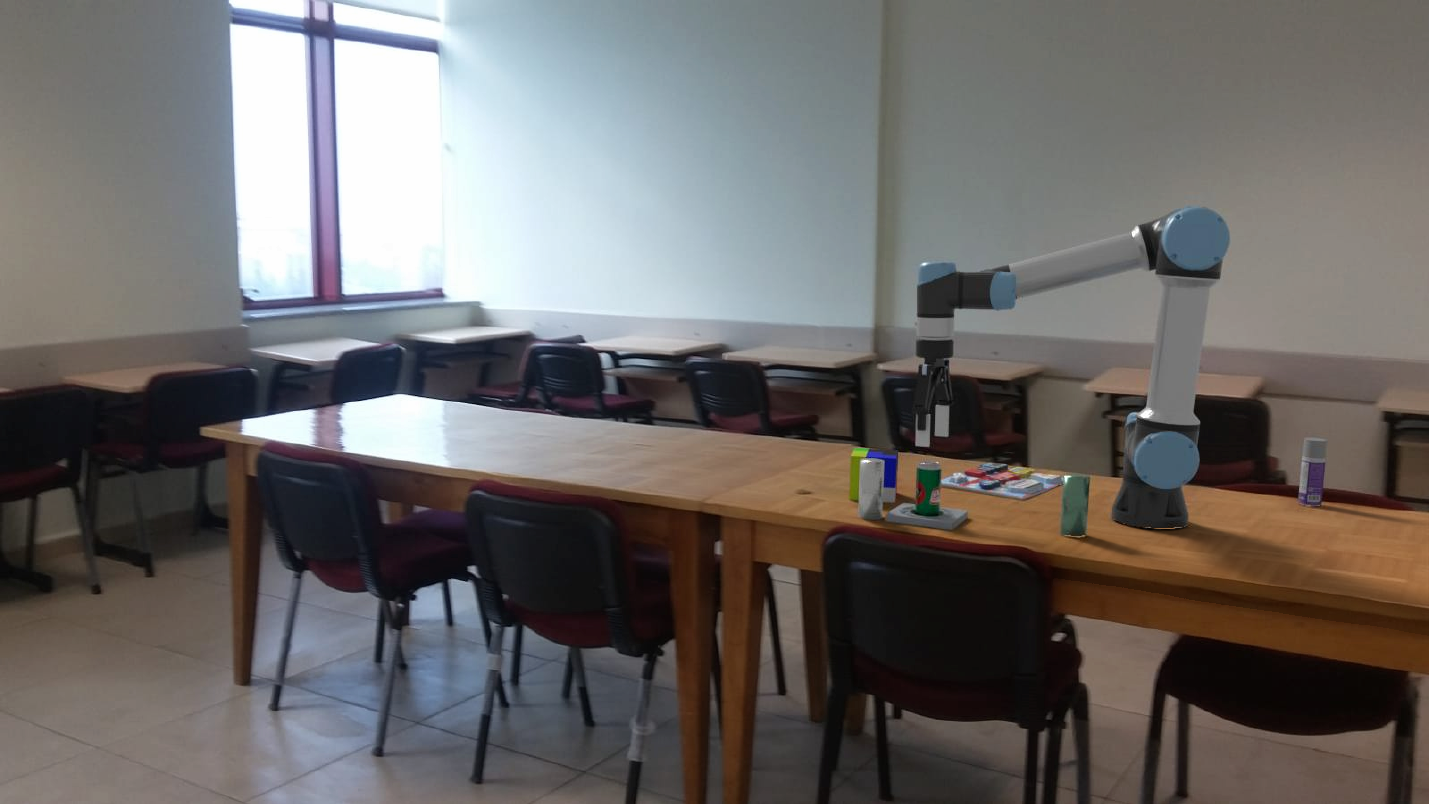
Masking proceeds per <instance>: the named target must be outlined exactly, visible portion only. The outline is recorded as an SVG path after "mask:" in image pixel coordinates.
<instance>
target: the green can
mask: <svg viewBox="0 0 1429 804" xmlns="http://www.w3.org/2000/svg"><path fill="white" fill-rule="evenodd" d="M1062 477H1063V485H1062V493H1061V510H1060V512H1061V513H1060V527H1059V534H1060V533H1061V534H1062V535H1071V536H1082V535H1086V536H1087V527H1088V526H1087V525H1088V514H1089V511H1088V510H1089V499H1090V498H1089V497H1090V484H1091V482H1090V481H1091V476H1090V475H1088V474H1084V473H1075V472H1073V473H1071V472H1069V473H1068V472H1067V473H1064V474H1063V475H1062ZM1062 535H1061V536H1062Z"/></svg>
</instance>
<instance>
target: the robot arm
mask: <svg viewBox="0 0 1429 804" xmlns="http://www.w3.org/2000/svg"><path fill="white" fill-rule="evenodd" d="M1230 240H1231V234H1230V229H1229V226H1228V223H1227V222H1226V221H1225V220H1224V218H1223V217H1222V216H1221V215H1220V214H1219V213H1218V212H1216V211H1215V210H1213V209H1211V208H1209V207H1205V206H1200V205H1195V206H1186V207H1183V208H1180V209H1175V210H1174V211H1171V212H1169V213H1168V214H1165V215H1164V216H1160V217H1158V218H1157V219H1154V220H1151V221H1148V222H1145V223H1142V224H1138V225H1135V227H1134V228H1133V229H1132V231H1130V232H1126V233H1123V234H1119V235H1115V236H1111V237H1108V238H1104V239H1099V240H1096V241H1092V242H1089V243H1085V244H1084V243H1083V244H1081V245H1078V246H1073V247H1070V248H1066V249H1062V250H1058V251H1055V252H1050V253H1047V254H1043V255H1040V256H1035V257H1032V258H1031V257H1030V258H1028V259H1025V260H1020V261H1016V262H1013V263H1009V264H1006V265H1002V266H997V267H994V268H991V269H984V270H980V271H967V272H966V271H965V272H964V271H960V270H959V271H958V270H957V267H956V264H955V262H952V261H925V262H922V263H920V265H919V266H918V269H917V271H918V272H917V283H916V320H915V321H914V323H913V324H914V326H915V327H916V336H917V337H919V338H917V339H916V340H915V356H916V358H920V359H924V361H923V363H924V364H923V363H921V364H918V369H917V371H918V373H917V380H916V387H915V392H914V399H913V404H912V408H911V414H912V415H915V447H924V448H926V447H927V448H930V444H931V442H930V440H931V439H930V438H931V414H930V413H929V412H930V409H931V404H932V400H933V396H934V394H935V399H936V403H937V404H936V405H935V414H934V415H935V417H934V421H935V422H934V423H935V424H934V436H935V437H945V438H948V437H949V431H950V427H949V424H950V406H954V400H953V393H952V392H953V391H952V382H951V381H952V380H951V375H950V374H951V373H950V358H953V356H954V344H955V343H954V342H955V341H954V340H953V339H952V338H953V337H954V336H955V310H987V311H988V310H990V311H991V310H994V311H998V312H999V311H1003V310H1004V311H1005V310H1012V309H1014V308H1015V306H1016V300H1018V299H1019V300H1020V299H1022V298H1023V299H1024V298H1027V297H1031V296H1034V295H1040V294H1042V293H1047V292H1051V291H1055V290H1059V289H1061V288H1066V287H1071V286H1074V285H1078V284H1083V283H1087V282H1091V281H1094V280H1098V279H1102V278H1107V277H1110V276H1115V275H1118V274H1122V273H1127V272H1131V271H1134V270H1138V269H1141V270H1143V271H1146V272H1150V271H1155V273H1154V277H1155V278H1156V279H1157V280H1158V281H1159V283H1160V284H1161V291H1160V298H1159V299H1160V300H1159V307H1158V315H1157V321H1156V322H1157V323H1156V329H1155V336H1154V346H1153V351H1152V352H1153V353H1152V358H1151V359H1152V360H1151V369H1150V373H1149V374H1150V375H1149V382H1148V383H1149V384H1148V391H1147V398H1146V405H1145V407H1144V408H1143V409H1141V411H1139V412H1136V411H1134V412H1131V413H1129V414H1128V415H1127V418H1126V423H1125V426H1124V427H1125V439H1124V453H1123V454H1124V456H1123V468H1122V469H1123V470H1122V472H1123V473H1122V482H1121V484H1120V488H1119V490H1118V492H1117V494H1116V498H1115V499H1114V501H1113V504H1112V506H1111V513H1110V514H1111V515H1110V517H1111V519H1112V520H1113V519H1115V520H1116V521H1119V522H1121V523H1120V524H1122V523H1125V524H1128V525H1127V526H1129V525H1132V526H1131V527H1134V526H1137V527H1136V528H1139V527H1151V528H1174V527H1184V526H1186V525H1187V524H1188V525H1189V520H1190V519H1189V517H1190V516H1189V511H1188V507H1187V503H1186V500H1185V495H1184V491H1183V486H1184V485H1186V484H1187V483H1189V482H1190V481H1191V480H1192V479H1193V478H1194V476H1195V475H1196V473H1197V472H1198V469H1199V466H1200V462H1201V461H1200V452H1199V449H1198V442H1199V436H1200V435H1199V434H1200V426H1201V421H1200V420H1199V418H1198V417H1197V416H1196V415H1195V413H1194V409H1195V400H1196V395H1197V387H1198V386H1197V385H1198V379H1199V372H1200V365H1201V357H1202V351H1203V343H1204V336H1205V328H1206V320H1207V314H1208V313H1207V312H1208V307H1209V299H1210V298H1209V297H1210V291H1211V289H1212V287H1214V286H1215V285H1217V284H1218V283H1219V282H1220V281H1221V274H1222V269H1223V268H1222V267H1223V262H1224V261H1223V260H1224V258H1225V256H1226V254H1227V253H1228V249H1229V247H1230V242H1231V241H1230ZM1116 521H1115V522H1116ZM1119 522H1118V523H1119ZM1125 524H1124V525H1125ZM1184 528H1185V527H1184Z"/></svg>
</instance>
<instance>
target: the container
mask: <svg viewBox="0 0 1429 804" xmlns="http://www.w3.org/2000/svg"><path fill="white" fill-rule="evenodd" d="M1327 443H1328V441H1327V439H1325V438H1319V437H1304V440H1303V449H1302V450H1303V451H1302V455H1301V456H1302V457H1301V458H1302V459H1301V466H1300V478H1299V480H1300V481H1299V489H1298V498H1297V499H1298V501H1297V503H1298V502H1299V503H1302V504H1304V505H1311V506H1318V505H1321V506H1322V502H1323V500H1322V499H1323V491H1324V480H1325V472H1326V471H1325V470H1326V460H1327V459H1326V458H1327Z"/></svg>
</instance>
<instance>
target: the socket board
mask: <svg viewBox="0 0 1429 804" xmlns="http://www.w3.org/2000/svg"><path fill="white" fill-rule="evenodd" d="M968 514H969V510H965V509H956V508H951V507H950V508H948V507H942V506H940V516H936V517H927V516H919V515H915V503H910V502H908V503H907V502H903V503H901V504H900V505H898V506H896V507H895V508H893V509H891V510H890V511H888V512H887V513H885V520H884V521H885V522H888V523H895V524H904V525H909V526H918V527H926V528H931V529H939V530H947V531H953V530H954V529H956V528H957V527H958V526H959V525H960V524H962V523H963V522H965V520H967V519H968V518H969V515H968Z"/></svg>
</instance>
